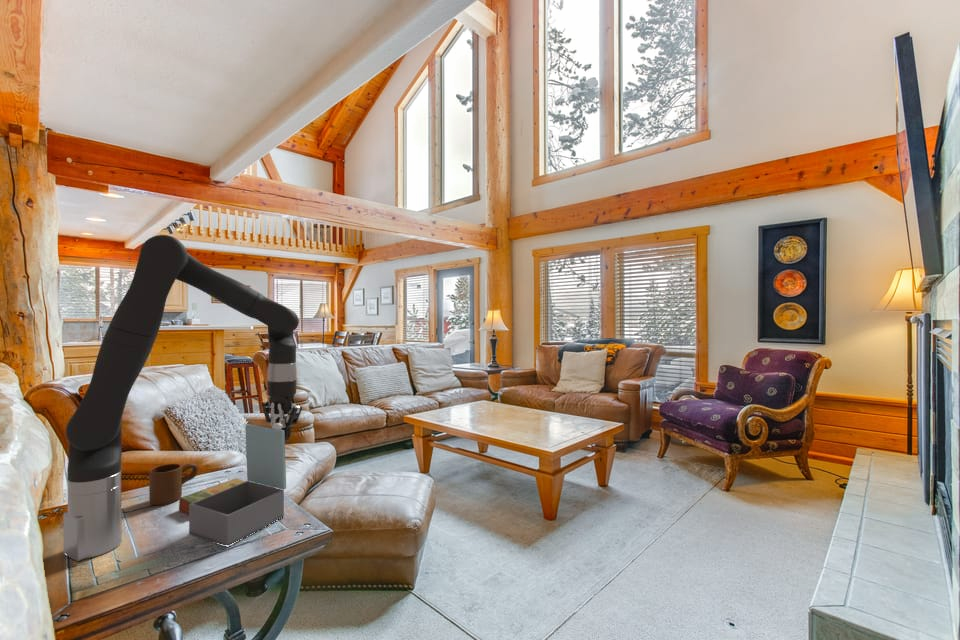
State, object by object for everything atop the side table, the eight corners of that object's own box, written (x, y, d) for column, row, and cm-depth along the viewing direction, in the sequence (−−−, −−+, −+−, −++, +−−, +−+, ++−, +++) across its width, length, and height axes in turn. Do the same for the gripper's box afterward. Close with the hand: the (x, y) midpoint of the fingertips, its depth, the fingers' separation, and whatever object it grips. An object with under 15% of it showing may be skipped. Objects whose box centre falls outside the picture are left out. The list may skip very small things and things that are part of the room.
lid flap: (281, 431, 114) (299, 424, 119) (245, 424, 119) (263, 418, 125) (283, 489, 115) (301, 480, 120) (247, 480, 120) (265, 472, 126)
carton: (252, 497, 128) (252, 483, 127) (194, 520, 114) (194, 504, 114) (236, 490, 132) (236, 477, 132) (178, 512, 118) (178, 496, 118)
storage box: (227, 547, 100) (227, 516, 100) (189, 534, 106) (189, 504, 106) (283, 517, 115) (283, 490, 115) (247, 507, 121) (247, 480, 120)
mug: (194, 487, 133) (194, 457, 132) (202, 495, 128) (202, 463, 128) (146, 500, 124) (146, 468, 123) (153, 509, 119) (153, 475, 118)
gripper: (253, 378, 121) (252, 438, 121) (289, 382, 116) (288, 446, 116) (275, 374, 128) (274, 432, 128) (310, 378, 122) (309, 439, 123)
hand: (281, 438), depth 122 cm, fingers closed on lid flap, 3 cm apart
